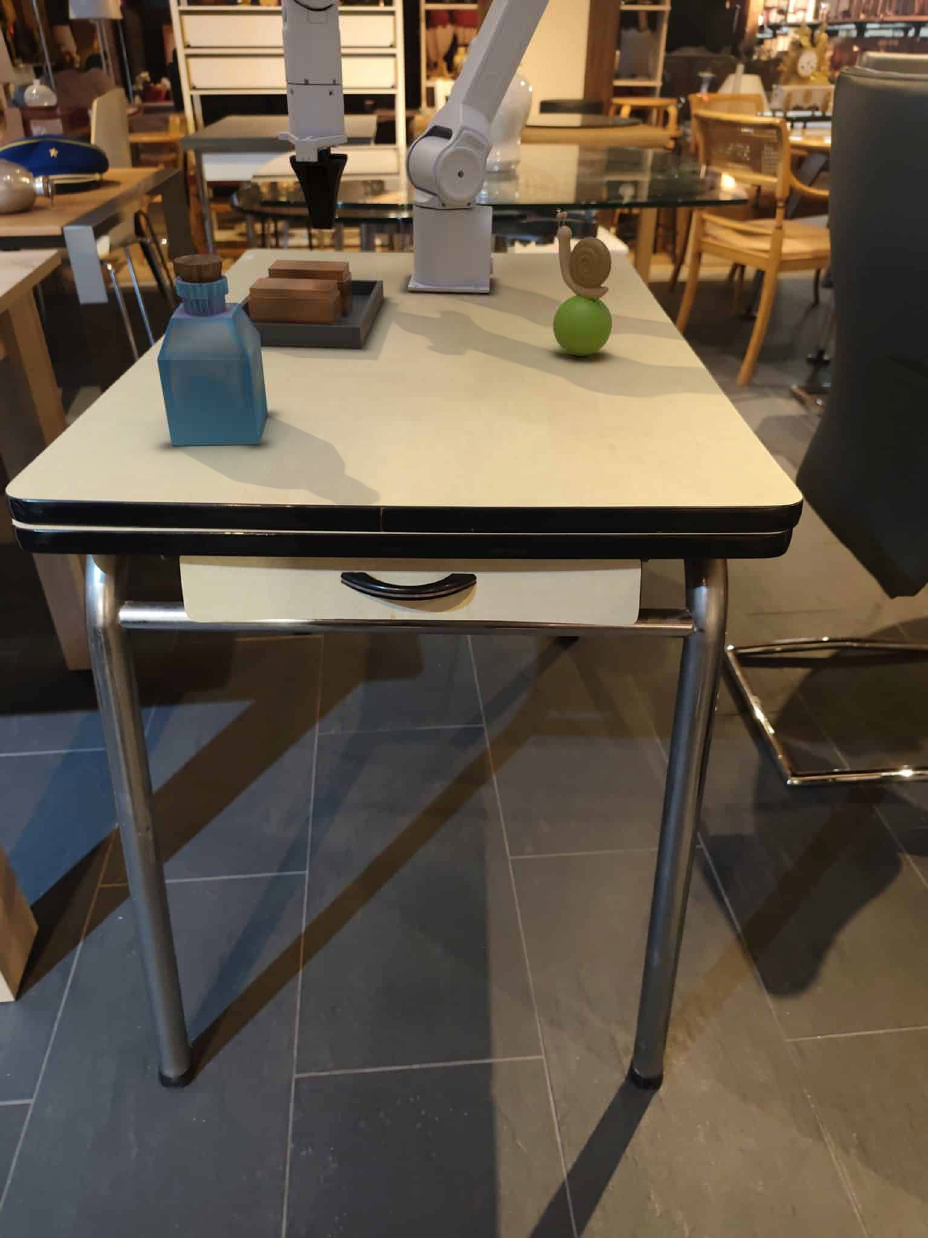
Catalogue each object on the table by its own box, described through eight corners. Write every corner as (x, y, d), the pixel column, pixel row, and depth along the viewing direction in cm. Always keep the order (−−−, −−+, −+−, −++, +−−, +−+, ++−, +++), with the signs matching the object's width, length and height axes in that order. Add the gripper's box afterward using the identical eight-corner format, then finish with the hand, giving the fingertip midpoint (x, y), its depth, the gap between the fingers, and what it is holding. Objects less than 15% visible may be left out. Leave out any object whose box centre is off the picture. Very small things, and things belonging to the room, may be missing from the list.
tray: (383, 298, 100) (383, 280, 99) (361, 348, 84) (360, 326, 83) (267, 295, 100) (265, 276, 99) (223, 344, 84) (220, 322, 83)
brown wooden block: (342, 326, 88) (339, 279, 86) (335, 339, 85) (332, 290, 82) (262, 324, 88) (257, 277, 86) (251, 336, 85) (246, 287, 82)
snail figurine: (568, 340, 88) (579, 208, 81) (620, 355, 84) (636, 217, 77) (531, 351, 84) (539, 214, 78) (583, 366, 81) (597, 224, 74)
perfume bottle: (186, 414, 69) (160, 249, 62) (267, 413, 69) (250, 250, 62) (171, 445, 63) (141, 269, 57) (259, 444, 64) (239, 269, 57)
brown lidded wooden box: (353, 305, 95) (350, 261, 93) (346, 316, 91) (344, 270, 89) (279, 303, 95) (275, 259, 93) (269, 314, 92) (265, 268, 89)
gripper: (289, 79, 96) (299, 215, 104) (259, 85, 84) (272, 239, 91) (354, 81, 96) (359, 217, 103) (333, 87, 84) (340, 241, 91)
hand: (323, 227), depth 97 cm, fingers closed
